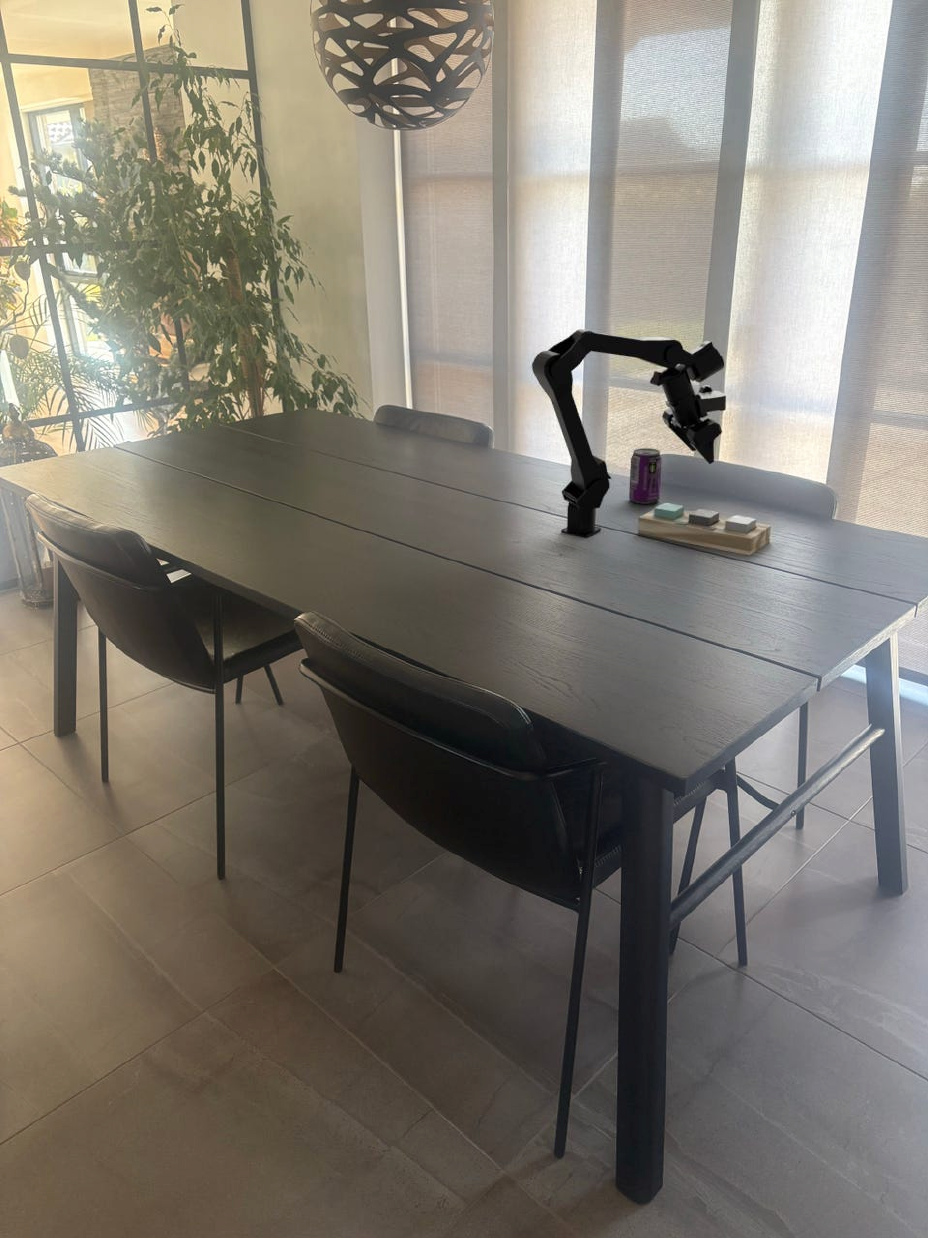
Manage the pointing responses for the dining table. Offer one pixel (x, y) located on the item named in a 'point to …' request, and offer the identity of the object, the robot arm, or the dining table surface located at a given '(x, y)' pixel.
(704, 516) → the gray square block
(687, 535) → the wooden key base
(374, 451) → the dining table surface
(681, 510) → the key teal
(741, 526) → the key grey
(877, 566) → the dining table surface
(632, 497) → the beverage can
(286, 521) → the dining table surface
